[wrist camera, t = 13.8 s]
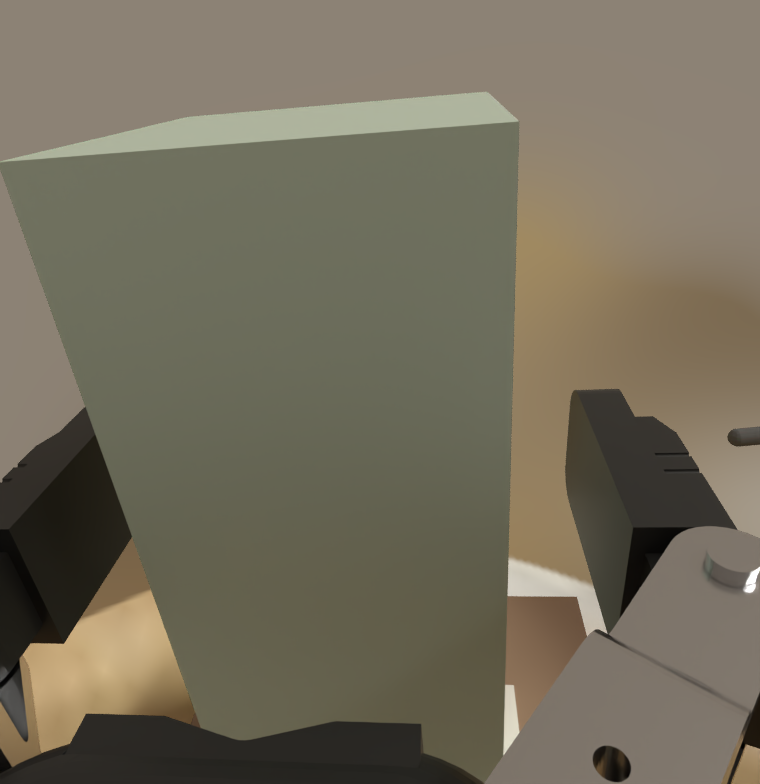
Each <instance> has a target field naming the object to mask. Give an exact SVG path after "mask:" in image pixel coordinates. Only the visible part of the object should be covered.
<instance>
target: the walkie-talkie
mask: <svg viewBox="0 0 760 784" xmlns="http://www.w3.org/2000/svg"><path fill="white" fill-rule="evenodd" d="M728 441H729V442H730V443H731V444H732V445H734V446H748V445H759V444H760V427H751V428H740V429H733V430H731V431H730V432H729V434H728Z"/></svg>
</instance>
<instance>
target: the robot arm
mask: <svg viewBox="0 0 760 784" xmlns="http://www.w3.org/2000/svg"><path fill="white" fill-rule="evenodd" d="M565 473H566V488H567V495H568V499H569V503H570V507H571V510H572V513H573V517H574V520H575V524H576V527H577V530H578V534H579V537H580V540H581V544H582V547H583V551H584V554H585V558H586V561H587V565H588V568H589V571H590V575H591V578H592V582H593V585H594V589H595V592H596V595H597V599H598V602H599V606H600V609H601V612H602V616H603V619H604V623H605V626H606V630H607V633H608V634H606V633H604V632H603V631H601V630H594V631H593V632H591V633H590V634H589V635H588V636H587V637H586V638H585V640H584V641H583V642H582V644H581V645H580V647H579V648H578V649H577V651H576V652H575V654H574V655H573V657H572V658H571V659H570V661H569V662H568V664H567V665H566V667H565V668H564V669H563V671H562V672H561V674H560V675H559V677H558V678H557V679H556V681H555V682H554V684H553V685H552V687H551V688H550V690H549V691H548V692H547V694H546V695H545V697H544V698H543V700H542V701H541V702H540V704H539V705H538V707H537V708H536V710H535V711H534V712H533V714H532V715H531V717H530V718H529V720H528V721H527V722H526V724H525V725H524V727H523V728H522V730H521V731H520V733H519V734H518V735H517V737H516V738H515V740H514V741H513V743H512V744H511V745H510V747H509V748H508V750H507V751H506V753H505V754H504V755H503V757H502V758H501V760H500V761H499V763H498V764H497V765H496V767H495V768H494V770H493V771H492V773H491V774H490V776H489V777H488V778H487V780H486V781H485V783H484V782H482V781H481V780H479V779H478V778H476V777H475V776H473V775H471V774H470V773H468V772H467V771H465V770H463V769H462V768H460V767H458V766H455V765H453V764H451V763H449V762H447V761H445V760H443V759H440V758H437V757H434V756H431V755H428V754H425V753H424V751H423V739H422V726H421V724H412V723H379V722H346V721H333V722H329V723H324V724H320V725H315V726H311V727H306V728H302V729H297V730H293V731H288V732H283V733H279V734H274V735H270V736H265V737H261V738H256V739H252V740H236V739H232V738H229V737H226V736H223V735H220V734H217V733H214V732H211V731H208V730H205V729H202V728H199V727H196V726H193V725H190V724H187V723H184V722H181V721H178V720H175V719H172V718H169V717H166V716H147V715H114V714H86V715H85V717H84V719H83V721H82V723H81V724H80V726H79V728H78V730H77V732H76V734H75V736H74V737H73V739H72V741H71V743H70V744H68V745H64V746H61V747H58V748H55V749H53V750H50V751H47V752H44V753H41V751H40V744H39V736H38V729H37V721H36V714H35V707H34V699H33V692H32V684H31V677H30V670H29V666H28V664H27V662H26V660H25V658H24V656H23V653H24V652H25V650H26V649H27V647H28V646H29V645H30V643H56V644H64V643H65V641H66V640H67V638H68V636H69V635H70V633H71V632H72V630H73V629H74V627H75V625H76V624H77V622H78V621H79V619H80V618H81V616H82V614H83V613H84V611H85V610H86V608H87V607H88V605H89V603H90V602H91V600H92V599H93V597H94V596H95V594H96V592H97V591H98V589H99V588H100V586H101V585H102V583H103V581H104V580H105V578H106V577H107V575H108V574H109V572H110V570H111V569H112V567H113V566H114V564H115V563H116V561H117V560H118V558H119V556H120V555H121V553H122V552H123V550H124V549H125V547H126V545H127V544H128V542H129V541H130V539H131V537H132V535H131V532H130V529H129V527H128V524H127V521H126V518H125V515H124V513H123V510H122V507H121V504H120V502H119V499H118V496H117V493H116V490H115V488H114V485H113V482H112V479H111V476H110V474H109V471H108V468H107V465H106V463H105V460H104V457H103V454H102V451H101V449H100V446H99V443H98V440H97V437H96V435H95V432H94V429H93V426H92V424H91V421H90V418H89V415H88V412H87V410H86V407H85V408H84V409H82V410H81V411H80V412H79V414H78V415H76V416H75V417H74V418H73V419H72V420H71V421H70V422H69V423H68V424H67V425H66V426H65V427H64V428H63V429H62V430H61V431H60V432H59V433H57V434H56V435H54V436H52V437H51V438H49V439H47V440H45V441H44V442H42V443H41V444H39V445H37V446H36V447H35V448H34V449H33V450H32V451H30V452H29V453H28V454H27V455H26V456H25V457H24V458H23V459H22V460H21V461H20V462H19V463H18V467H17V468H13V469H12V470H11V471H10V472H9V473H8V474H7V475H6V476H5V477H4V478H3V482H2V483H0V784H732V782H733V779H734V777H735V774H736V772H737V769H738V766H739V764H740V761H741V758H742V756H743V753H744V751H745V748H746V745H750V746H753V747H756V748H759V749H760V539H759V538H758V537H755V536H753V535H750V534H748V533H745V532H742V531H739V530H737V528H736V527H735V525H734V523H733V522H732V520H731V519H730V517H729V516H728V514H727V512H726V511H725V509H724V508H723V506H722V504H721V503H720V501H719V500H718V498H717V496H716V495H715V493H714V492H713V490H712V489H711V487H710V485H709V484H708V482H707V481H706V479H705V477H704V476H703V474H702V473H699V468H698V467H697V465H696V463H695V462H694V460H693V459H692V457H691V456H690V457H689V452H688V451H687V449H686V447H685V446H684V444H683V443H682V441H681V439H680V438H679V437H678V435H677V433H676V432H674V431H673V430H672V429H670V428H669V427H667V426H666V425H664V424H663V423H661V422H660V421H659V420H657V419H656V418H654V417H653V416H652V417H635V416H634V414H633V413H632V411H631V409H630V407H629V405H628V404H627V402H626V400H625V398H624V396H623V394H622V393H621V391H620V390H619V389H599V390H574V391H573V393H572V396H571V402H570V413H569V426H568V439H567V452H566V466H565Z"/></svg>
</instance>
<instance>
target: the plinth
mask: <svg viewBox="0 0 760 784" xmlns="http://www.w3.org/2000/svg"><path fill="white" fill-rule="evenodd" d="M586 637H587V635H586V631H585V627H584V623H583V619H582V616H581V612H580V608H579V604H578V600H577V597H517V596H507V631H506V670H505V710H504V750H503V755H504V754H505V753H506V751H507V750H508V748H509V747H510V745H511V744H512V743H513V741H514V740H515V738H516V737H517V735H518V734H519V733H520V731H521V730H522V728H523V727H524V725H525V724H526V722H527V721H528V720H529V718H530V717H531V715H532V714H533V712H534V711H535V710H536V708H537V707H538V705H539V704H540V702H541V701H542V700H543V698H544V697H545V695H546V694H547V692H548V691H549V690H550V688H551V687H552V685H553V684H554V682H555V681H556V679H557V678H558V677H559V675H560V674H561V672H562V671H563V669H564V668H565V667H566V665H567V664H568V662H569V661H570V659H571V658H572V657H573V655H574V654H575V652H576V651H577V649H578V648H579V647H580V645H581V644H582V642H583V641H584V640H585V638H586ZM191 725H193V726H196V727H199V728H201V727H200V724H199V722H198V719H197V716H196V713H195V714H194V717H193V720H192V722H191Z"/></svg>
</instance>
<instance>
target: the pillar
mask: <svg viewBox="0 0 760 784" xmlns="http://www.w3.org/2000/svg"><path fill="white" fill-rule="evenodd" d="M518 149H519V121H518V120H517V119H516V118H515V117H514V116H513V115H512V114H511V113H509V111H507V110H506V109H505V108H504V107H503V106H502V105H501V104H500V103H499V102H498V101H497V100H495V99H494V98H493V97H492V96H491V95H490V94H489V93H488V92H478V93H467V94H455V95H442V96H431V97H419V98H409V99H396V100H383V101H372V102H360V103H348V104H337V105H324V106H313V107H301V108H289V109H277V110H266V111H255V112H242V113H231V114H218V115H206V116H195V117H186V118H182V119H177V120H173V121H169V122H165V123H161V124H156V125H152V126H148V127H144V128H140V129H136V130H131V131H127V132H123V133H119V134H115V135H110V136H106V137H102V138H98V139H93V140H89V141H85V142H81V143H76V144H72V145H68V146H64V147H60V148H55V149H51V150H47V151H43V152H38V153H34V154H30V155H26V156H22V157H17V158H14V159H9V160H5V161H1V162H0V170H1V173H2V176H3V178H4V181H5V184H6V186H7V190H8V192H9V195H10V198H11V201H12V204H13V206H14V209H15V212H16V215H17V217H18V220H19V223H20V226H21V228H22V231H23V234H24V237H25V240H26V242H27V245H28V248H29V251H30V253H31V256H32V259H33V262H34V265H35V268H36V270H37V273H38V276H39V279H40V282H41V284H42V287H43V290H44V293H45V295H46V298H47V301H48V304H49V307H50V309H51V312H52V315H53V318H54V320H55V323H56V326H57V329H58V332H59V334H60V337H61V340H62V343H63V346H64V348H65V351H66V354H67V356H68V359H69V362H70V365H71V368H72V371H73V373H74V376H75V379H76V382H77V384H78V387H79V390H80V393H81V396H82V398H83V401H84V404H85V407H86V410H87V412H88V415H89V418H90V421H91V424H92V426H93V429H94V432H95V435H96V437H97V440H98V443H99V446H100V449H101V451H102V454H103V457H104V460H105V463H106V465H107V468H108V471H109V474H110V476H111V479H112V482H113V485H114V488H115V490H116V493H117V496H118V499H119V502H120V504H121V507H122V510H123V513H124V515H125V518H126V521H127V524H128V527H129V529H130V532H131V535H132V538H133V541H134V543H135V546H136V548H137V552H138V554H139V557H140V560H141V562H142V565H143V568H144V571H145V574H146V577H147V579H148V582H149V585H150V588H151V591H152V593H153V596H154V599H155V602H156V605H157V607H158V610H159V613H160V616H161V618H162V621H163V624H164V627H165V630H166V632H167V635H168V638H169V641H170V644H171V646H172V649H173V652H174V655H175V657H176V660H177V663H178V666H179V669H180V671H181V674H182V677H183V680H184V683H185V685H186V688H187V691H188V694H189V696H190V699H191V702H192V705H193V708H194V710H195V713H196V716H197V719H198V722H199V724H200V727H201V728H202V729H205V730H208V731H211V732H214V733H217V734H220V735H223V736H226V737H229V738H232V739H236V740H252V739H256V738H261V737H265V736H270V735H274V734H279V733H283V732H288V731H293V730H297V729H302V728H306V727H311V726H315V725H320V724H324V723H329V722H333V721H346V722H379V723H412V724H421V726H422V739H423V751H424V753H425V754H428V755H431V756H434V757H437V758H440V759H443V760H445V761H447V762H449V763H451V764H453V765H455V766H458V767H460V768H462V769H463V770H465V771H467V772H468V773H470V774H471V775H473V776H475V777H476V778H478V779H479V780H481V781H482V782H484V783H485V781H486V780H487V778H488V777H489V776H490V774H491V773H492V771H493V770H494V768H495V767H496V765H497V764H498V763H499V761H500V760H501V758H502V757H503V750H504V710H505V670H506V631H507V591H508V550H509V510H510V509H509V508H510V471H511V431H512V429H511V428H512V391H513V390H512V389H513V351H514V349H513V348H514V312H515V271H516V231H517V192H518V191H517V190H518V152H519V150H518Z"/></svg>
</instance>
